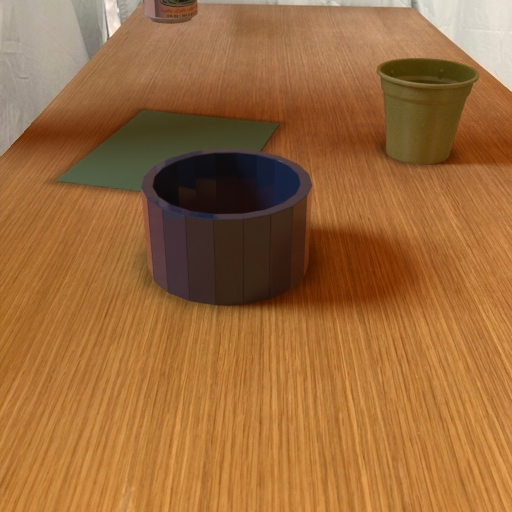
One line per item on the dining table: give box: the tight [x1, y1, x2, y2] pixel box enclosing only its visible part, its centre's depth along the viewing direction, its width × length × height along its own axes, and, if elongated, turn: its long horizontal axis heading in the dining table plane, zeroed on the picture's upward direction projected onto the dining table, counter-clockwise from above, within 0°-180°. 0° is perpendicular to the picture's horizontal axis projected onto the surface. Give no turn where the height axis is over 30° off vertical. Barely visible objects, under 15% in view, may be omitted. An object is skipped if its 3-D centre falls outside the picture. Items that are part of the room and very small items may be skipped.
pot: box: [140, 149, 313, 306], centre depth 49 cm, size 12×12×7 cm
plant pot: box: [376, 57, 480, 165], centre depth 67 cm, size 9×9×9 cm
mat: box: [55, 109, 280, 193], centre depth 69 cm, size 16×20×1 cm
